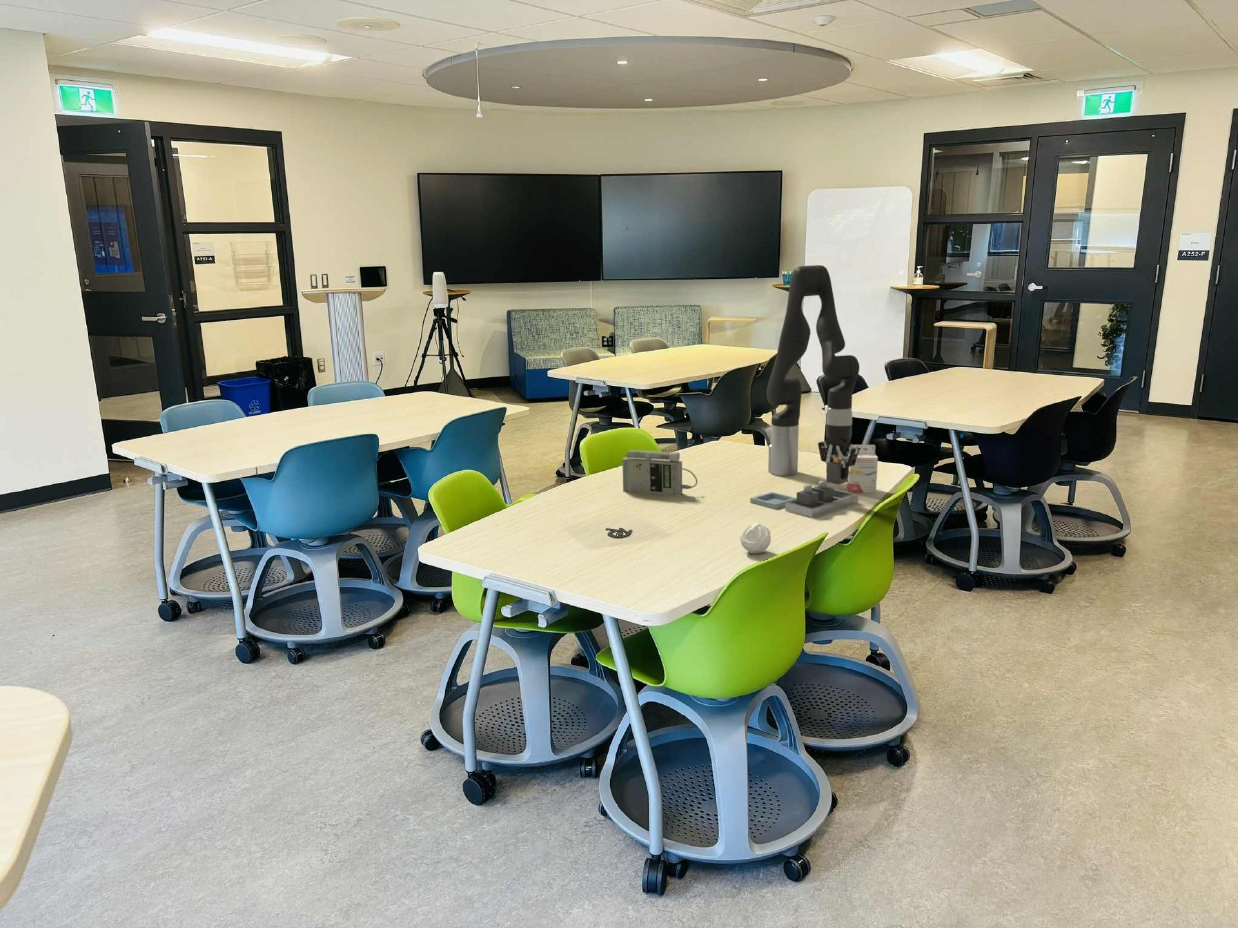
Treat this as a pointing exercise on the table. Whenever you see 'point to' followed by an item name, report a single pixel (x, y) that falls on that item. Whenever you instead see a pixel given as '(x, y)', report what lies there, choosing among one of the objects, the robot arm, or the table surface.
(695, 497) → the table surface
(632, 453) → the geiger counter
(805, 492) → the twin plug
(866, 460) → the ink cartridge box
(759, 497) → the tray
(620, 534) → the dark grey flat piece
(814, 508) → the strip
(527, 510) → the table surface
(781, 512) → the table surface
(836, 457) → the plug
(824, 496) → the twin plug
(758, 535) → the crumpled white ball
